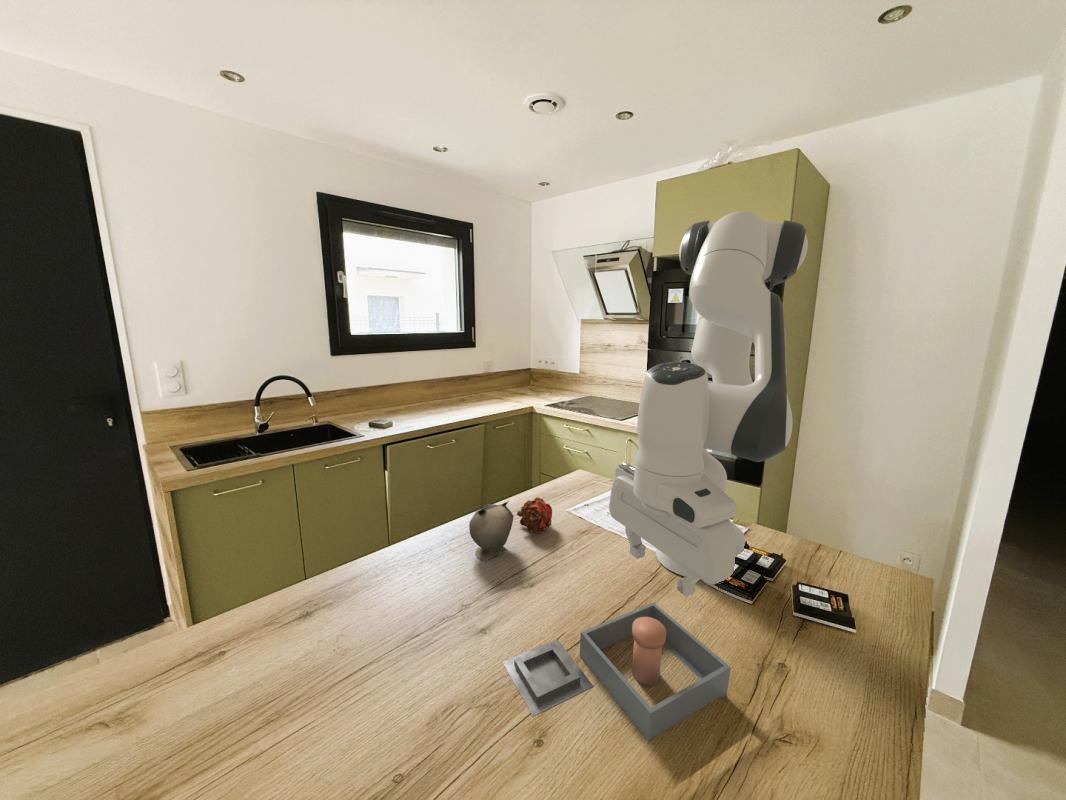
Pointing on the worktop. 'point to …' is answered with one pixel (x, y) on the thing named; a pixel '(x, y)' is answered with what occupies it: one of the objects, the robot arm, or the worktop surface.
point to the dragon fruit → (536, 515)
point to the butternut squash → (647, 649)
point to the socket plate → (546, 676)
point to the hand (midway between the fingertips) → (659, 572)
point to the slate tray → (681, 645)
